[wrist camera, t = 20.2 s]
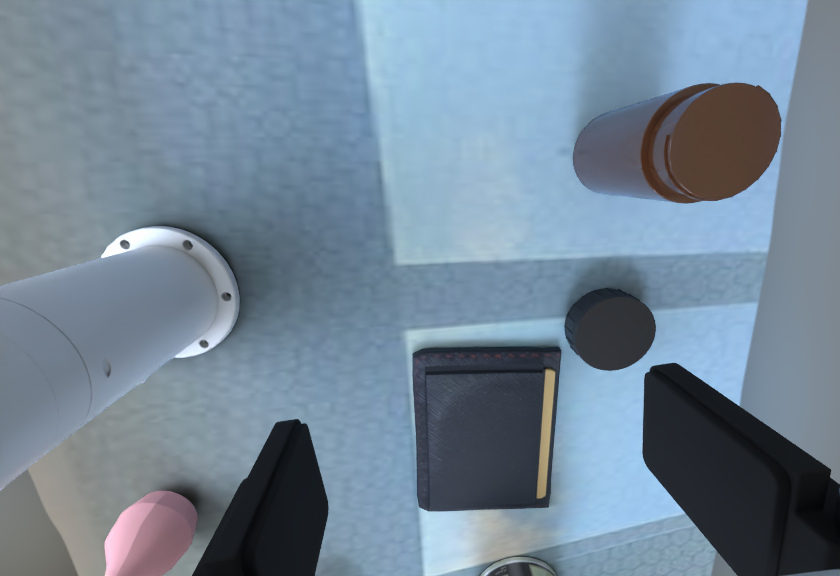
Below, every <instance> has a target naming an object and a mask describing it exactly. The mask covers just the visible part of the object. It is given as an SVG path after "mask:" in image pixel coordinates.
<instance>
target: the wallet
mask: <svg viewBox="0 0 840 576" xmlns="http://www.w3.org/2000/svg"><path fill="white" fill-rule="evenodd" d="M560 360H561V349H560V348H559V347H553V348H538V347H474V348H432V349H422V350H420V351H418V352H415V353H413V391H414V408H415V425H416V447H417V497H418V503H419V507H420V508H422V509H424V510H427V511H464V510H485V509H524V508H548V507H549V500H550V493H551V471H552V458H553V446H554V434H555V421H556V409H557V397H558V384H559V372H560Z"/></svg>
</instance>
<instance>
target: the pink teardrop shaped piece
mask: <svg viewBox="0 0 840 576" xmlns="http://www.w3.org/2000/svg"><path fill="white" fill-rule="evenodd" d="M197 518H198V514H197V512H196V509H195V507H194V506H193V505H192V503H191V502H190V501H189V500H188V499H186V498H185V497H183V496H181V495H180V494H177V493H174V492H170V491H156V492H152V493H149V494H147V495H146V496H144V497H143V498H142V499H140V500H139V501H137V502H136V503H134V504H133V505H132V506H130V507H129V508H127V509H126V510H125V511H123V512H122V513H121V515H120V517H119V518H118V520H117V522H116V523H115V525H114V527H113V528H112V530H111V531H110V533H109V535H108V537H107V539H106V541H105V554H106V562H107V569H106V573H105V576H161V575H163V574H165V573H166V572H168V571H169V570H171V569H172V568H173V566H174V565H175V564H176V563H177V562H178V561H179V559H180V558H181V557H182V556H183V555H184V554H185V552H186V551H187V550H188V548H189V546H190V545H191V543H192V540H193V536H194V533H195V529H196V525H197Z"/></svg>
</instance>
